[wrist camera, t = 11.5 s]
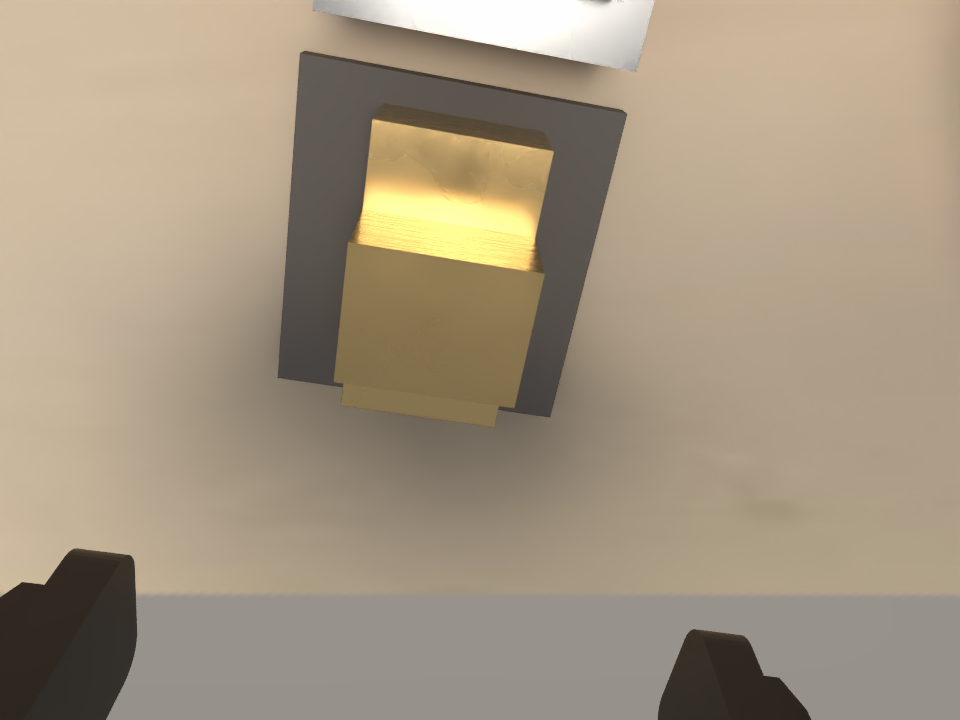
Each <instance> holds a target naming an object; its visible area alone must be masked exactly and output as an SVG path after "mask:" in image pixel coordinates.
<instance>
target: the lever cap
mask: <svg viewBox="0 0 960 720" xmlns="http://www.w3.org/2000/svg"><path fill="white" fill-rule="evenodd" d="M553 153H554V151H553V149H552V147H551V145H550V143H549V141H548V139H547V137H546V135H545V133H544V132H543V131H537V130H531V129H526V128H520V127H515V126H509V125H504V124H498V123H493V122H487V121H481V120H476V119H470V118H465V117H459V116H454V115H448V114H443V113H437V112H432V111H426V110H420V109H415V108H409V107H404V106H398V105H393V104H387V103H383V104H382V105H381V107H380V108H379V110H378V112H377V113H376V115H375V116H374V118H373V119H372V129H371V138H370V147H369V156H368V165H367V174H366V183H365V192H364V201H363V209H362V212H361V214H360V216H359V219H358V221H357V223H356V225H355V228H354V230H353V232H352V234H351V237H350V239H349V241H348V248H347V258H346V268H345V277H344V287H343V297H342V306H341V316H340V326H339V335H338V345H337V355H336V364H335V374H334V382H337V383H343V392H342V401H341V406H348V407H355V408H362V409H369V410H376V411H384V412H391V413H398V414H405V415H412V416H419V417H426V418H433V419H440V420H447V421H454V422H461V423H468V424H475V425H482V426H489V427H494V426H495V421H496V417H497V412H498V407H499V406H503V407H510V408H515V403H516V399H517V395H518V390H519V386H520V381H521V377H522V373H523V368H524V364H525V359H526V355H527V350H528V346H529V342H530V337H531V333H532V328H533V324H534V320H535V315H536V311H537V306H538V302H539V298H540V293H541V289H542V284H543V280H544V276H545V272H544V269H543V265H542V261H541V258H540V254H539V250H538V247H537V243H536V239H535V236H536V232H537V227H538V222H539V218H540V213H541V209H542V204H543V199H544V195H545V190H546V185H547V181H548V176H549V172H550V167H551V162H552V158H553Z"/></svg>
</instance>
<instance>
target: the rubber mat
mask: <svg viewBox="0 0 960 720" xmlns="http://www.w3.org/2000/svg"><path fill="white" fill-rule="evenodd" d="M383 103H387V104H393V105H398V106H404V107H409V108H415V109H420V110H426V111H432V112H437V113H443V114H448V115H454V116H459V117H465V118H470V119H476V120H481V121H487V122H493V123H498V124H504V125H509V126H515V127H520V128H526V129H531V130H537V131H543V132H544V133H545V135H546V137H547V139H548V141H549V143H550V145H551V147H552V149H553V151H554V153H553V158H552V162H551V167H550V172H549V176H548V181H547V185H546V190H545V195H544V199H543V204H542V209H541V213H540V218H539V222H538V227H537V232H536V236H535V239H536V243H537V247H538V250H539V254H540V258H541V261H542V265H543V269H544V272H545V276H544V280H543V284H542V289H541V293H540V298H539V302H538V306H537V311H536V315H535V320H534V324H533V328H532V333H531V337H530V342H529V346H528V350H527V355H526V359H525V364H524V368H523V373H522V377H521V381H520V386H519V390H518V395H517V399H516V403H515V408H510V407H503V406H499V407H498V410H503V411H510V412H516V413H523V414H530V415H537V416H544V417H550V415H551V411H552V407H553V404H554V400H555V396H556V392H557V388H558V384H559V380H560V376H561V372H562V368H563V364H564V360H565V356H566V352H567V349H568V345H569V341H570V337H571V333H572V329H573V325H574V321H575V317H576V313H577V309H578V305H579V301H580V297H581V293H582V290H583V286H584V282H585V278H586V274H587V270H588V266H589V262H590V258H591V254H592V250H593V246H594V242H595V238H596V235H597V231H598V227H599V223H600V219H601V215H602V211H603V207H604V203H605V199H606V195H607V191H608V187H609V183H610V180H611V176H612V172H613V168H614V164H615V160H616V156H617V152H618V148H619V144H620V140H621V136H622V132H623V128H624V124H625V121H626V117H627V114H626V113H625V112H624V111H623V110H619V109H614V108H609V107H603V106H598V105H593V104H587V103H582V102H576V101H571V100H566V99H560V98H555V97H550V96H544V95H539V94H534V93H528V92H523V91H517V90H512V89H507V88H501V87H496V86H491V85H485V84H480V83H474V82H469V81H464V80H458V79H453V78H448V77H442V76H437V75H432V74H426V73H421V72H415V71H410V70H405V69H399V68H394V67H389V66H383V65H378V64H373V63H367V62H362V61H356V60H351V59H346V58H340V57H335V56H330V55H324V54H319V53H314V52H308V51H304V52H302V53H300V61H299V76H298V91H297V105H296V120H295V135H294V149H293V164H292V178H291V193H290V208H289V222H288V237H287V251H286V266H285V281H284V295H283V310H282V324H281V339H280V354H279V368H278V378H283V379H290V380H297V381H304V382H310V383H317V384H324V385H331V386H338V387H343V383H337V382H334V374H335V364H336V355H337V345H338V335H339V326H340V316H341V306H342V297H343V287H344V277H345V268H346V258H347V248H348V241H349V239H350V237H351V234H352V232H353V230H354V228H355V225H356V223H357V221H358V219H359V216H360V214H361V212H362V209H363V201H364V192H365V183H366V174H367V165H368V156H369V147H370V138H371V129H372V119H373V118H374V116H375V115H376V113H377V112H378V110H379V108H380V107H381V105H382V104H383Z"/></svg>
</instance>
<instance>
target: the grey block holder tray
mask: <svg viewBox="0 0 960 720" xmlns="http://www.w3.org/2000/svg"><path fill="white" fill-rule="evenodd" d="M653 4H654V0H314V1H313V10H314V11H319V12H324V13H330V14H335V15H340V16H345V17H350V18H356V19H361V20H366V21H371V22H377V23H382V24H387V25H392V26H397V27H403V28H408V29H413V30H418V31H424V32H429V33H434V34H439V35H444V36H450V37H455V38H460V39H465V40H471V41H476V42H481V43H486V44H491V45H497V46H502V47H507V48H512V49H518V50H523V51H528V52H533V53H538V54H544V55H549V56H554V57H559V58H564V59H570V60H575V61H580V62H585V63H591V64H596V65H601V66H606V67H611V68H617V69H622V70H627V71H632V72H636V71H637V67H638V63H639V59H640V55H641V51H642V47H643V43H644V39H645V35H646V31H647V27H648V23H649V19H650V16H651V12H652V8H653Z"/></svg>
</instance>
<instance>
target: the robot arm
mask: <svg viewBox="0 0 960 720" xmlns="http://www.w3.org/2000/svg"><path fill="white" fill-rule="evenodd" d="M136 639H137V618H136V589H135V565H134V560H133V558H132V556H130V555H124V554H116V553H108V552H100V551H92V550H85V549H77V548H76V549H73V550H71V551H70V552H69V553H68V554H67V555H66V556H65V557H64V559H63V560H62V561H61V563H60V564H59V566H58V567H57V568H56V570H55V571H54V573H53V574H52V575H51V577H50V578H49V580H48V581H47V582H46V584H45V585H41V584H33V583H25V582H22V583H20V584H19V585H17V586H16V587H15V588H13V589H12V590H10V591H9V592H7V593H6V594H4V595H3V596H2V597H0V720H106V718H107V716H108V714H109V712H110V710H111V708H112V706H113V704H114V702H115V700H116V698H117V696H118V694H119V693H120V690H121V688H122V687H123V685H124V682H125V680H126V678H127V676H128V673H129V670H130V667H131V664H132V661H133V657H134V652H135V648H136ZM658 720H811V718H810V716H809V714H808V712H807V710H806V709H805V708H804V706H803V705H802V704H801V703H800V702H799V700H798V699H797V698H796V697H795V696H794V695H793V693H792V692H791V691H790V690H789V689H788V687H787V686H786V685H785V684H784V683H783V682H782V681H781V679H780V678H777V677H769V676H763V673H762V670H761V668H760V666H759V663H758V661H757V658H756V656H755V654H754V651H753V649H752V646H751V644H750V643H749V641H748V640H747V638H745V637H744V636H742V635H735V634H726V633H719V632H712V631H704V630H695V629H693V630H691V631H690V632H689V633H688V634H687V636H686V638H685V640H684V643H683V645H682V648H681V650H680V653H679V655H678V658H677V660H676V663H675V665H674V668H673V670H672V673H671V675H670V678H669V680H668V683H667V685H666V688H665V690H664V693H663V695H662V698H661V701H660V706H659V712H658Z"/></svg>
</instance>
